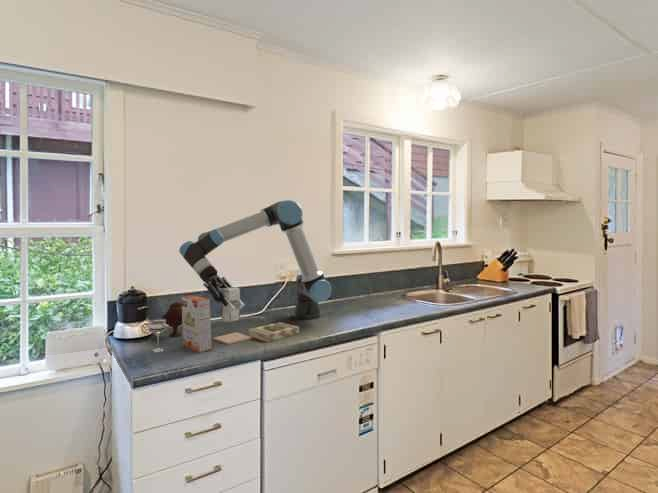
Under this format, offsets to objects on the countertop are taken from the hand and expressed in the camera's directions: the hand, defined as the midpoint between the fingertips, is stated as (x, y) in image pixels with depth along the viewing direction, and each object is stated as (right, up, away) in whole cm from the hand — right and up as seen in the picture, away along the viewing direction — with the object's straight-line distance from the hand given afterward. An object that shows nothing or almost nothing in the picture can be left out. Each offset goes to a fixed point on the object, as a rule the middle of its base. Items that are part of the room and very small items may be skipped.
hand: (237, 308), depth 180 cm
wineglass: (-29, -15, -13) cm, 35 cm away
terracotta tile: (-3, -14, +2) cm, 14 cm away
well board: (+15, -13, +9) cm, 22 cm away
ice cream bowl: (-31, -14, +9) cm, 35 cm away
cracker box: (-15, -15, -10) cm, 23 cm away
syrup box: (-3, -6, +2) cm, 7 cm away
